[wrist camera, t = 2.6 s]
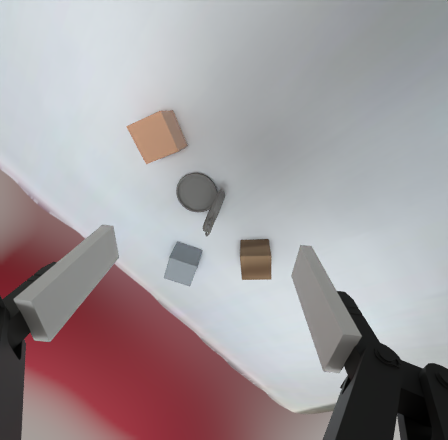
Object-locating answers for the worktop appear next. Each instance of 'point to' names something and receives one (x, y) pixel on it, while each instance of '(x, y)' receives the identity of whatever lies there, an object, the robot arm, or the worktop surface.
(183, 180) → the pocket watch
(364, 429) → the robot arm
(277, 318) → the worktop surface
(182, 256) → the slate cube
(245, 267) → the walnut cube
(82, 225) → the worktop surface
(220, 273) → the worktop surface
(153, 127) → the terracotta cube
